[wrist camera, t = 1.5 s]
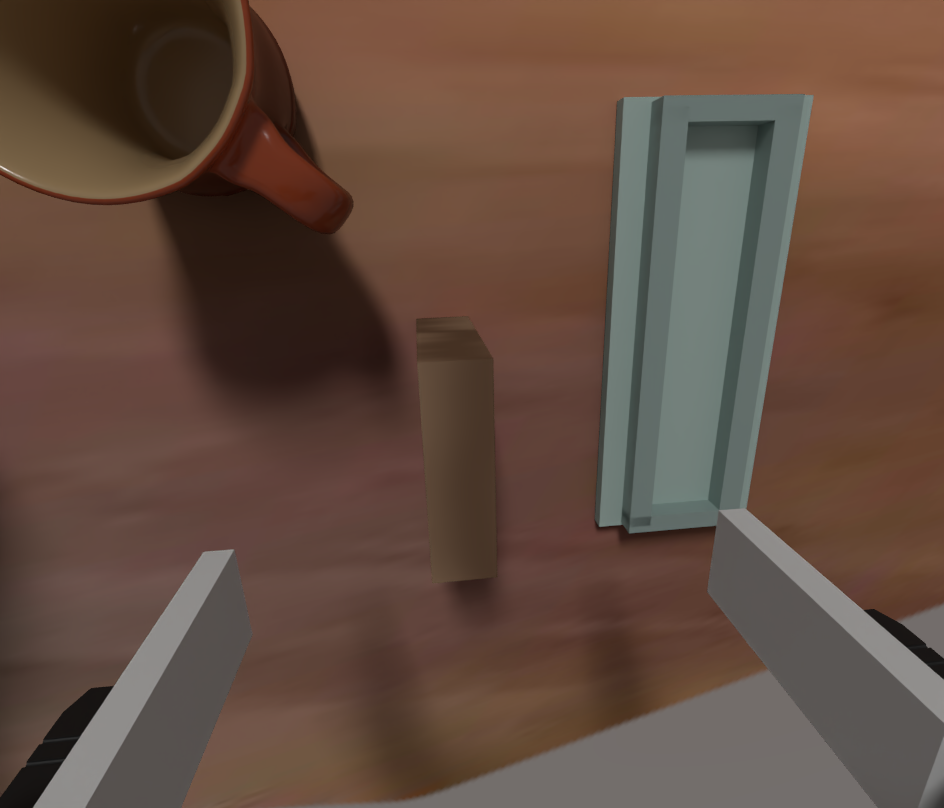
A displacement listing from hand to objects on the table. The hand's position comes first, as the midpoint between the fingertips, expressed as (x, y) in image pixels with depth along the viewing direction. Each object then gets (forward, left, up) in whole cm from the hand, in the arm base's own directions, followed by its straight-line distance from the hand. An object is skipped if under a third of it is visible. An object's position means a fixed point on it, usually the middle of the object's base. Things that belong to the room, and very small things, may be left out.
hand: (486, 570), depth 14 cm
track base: (+13, +3, -14) cm, 19 cm away
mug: (-8, +13, -15) cm, 21 cm away
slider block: (0, 0, -14) cm, 14 cm away
